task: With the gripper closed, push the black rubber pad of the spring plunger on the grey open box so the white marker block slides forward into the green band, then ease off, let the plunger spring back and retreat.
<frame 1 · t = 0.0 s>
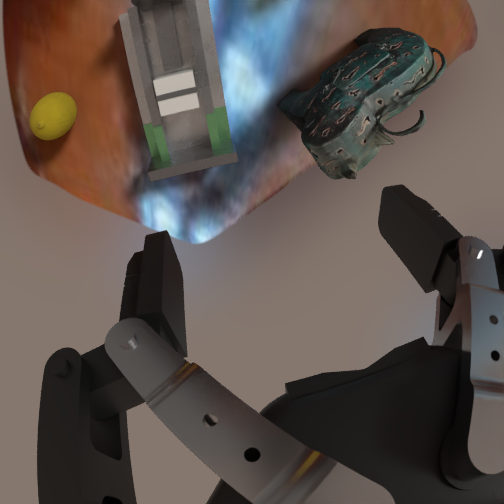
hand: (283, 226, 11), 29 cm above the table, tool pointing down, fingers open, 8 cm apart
ceramic cat: (326, 71, 33), on the table
grey open box: (177, 78, 31), on the table
lemon: (66, 107, 29), on the table
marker: (178, 87, 30), point 1 cm above the table, touching grey open box
plunger: (164, 30, 23), point 5 cm above the table, slide at 0.0 cm
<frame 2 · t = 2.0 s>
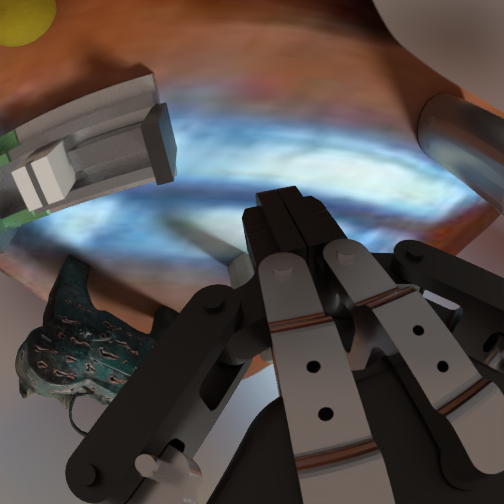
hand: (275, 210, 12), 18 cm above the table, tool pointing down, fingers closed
ceramic cat: (119, 288, 37), on the table
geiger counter: (300, 292, 44), on the table
grey open box: (70, 152, 25), on the table
lemon: (43, 17, 15), on the table
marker: (57, 161, 23), point 1 cm above the table, touching grey open box
plunger: (113, 152, 21), point 5 cm above the table, slide at 0.0 cm
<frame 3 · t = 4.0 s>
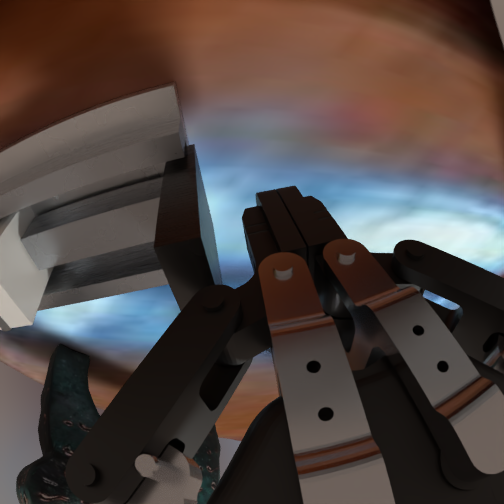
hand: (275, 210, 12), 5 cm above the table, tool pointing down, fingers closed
ceramic cat: (130, 376, 27), on the table
grey open box: (38, 219, 15), on the table
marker: (18, 238, 13), point 1 cm above the table, touching grey open box
plunger: (98, 255, 11), point 5 cm above the table, slide at 0.4 cm, touching gripper
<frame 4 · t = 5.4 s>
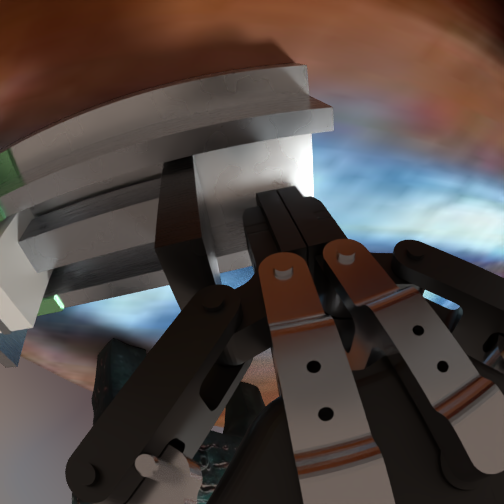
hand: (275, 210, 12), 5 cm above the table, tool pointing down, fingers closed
ceramic cat: (184, 370, 27), on the table
grey open box: (120, 193, 15), on the table
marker: (17, 240, 13), point 1 cm above the table, touching grey open box, plunger
plunger: (97, 256, 11), point 5 cm above the table, slide at 6.3 cm, touching gripper, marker
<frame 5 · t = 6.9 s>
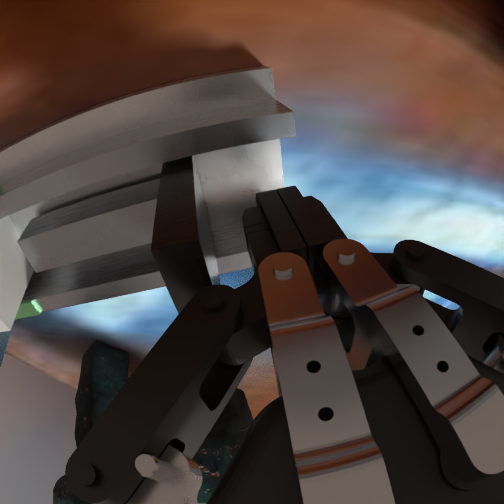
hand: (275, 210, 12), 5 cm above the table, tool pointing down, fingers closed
ceramic cat: (168, 372, 27), on the table
grey open box: (94, 201, 15), on the table
plunger: (95, 257, 11), point 5 cm above the table, slide at 4.7 cm, touching gripper
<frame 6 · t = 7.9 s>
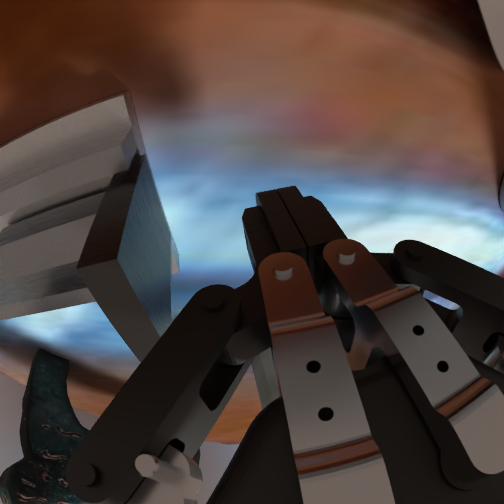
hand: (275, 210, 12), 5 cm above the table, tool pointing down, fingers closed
ceramic cat: (110, 381, 26), on the table
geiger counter: (335, 370, 33), on the table
grey open box: (10, 229, 14), on the table
plunger: (53, 268, 10), point 5 cm above the table, slide at 0.4 cm
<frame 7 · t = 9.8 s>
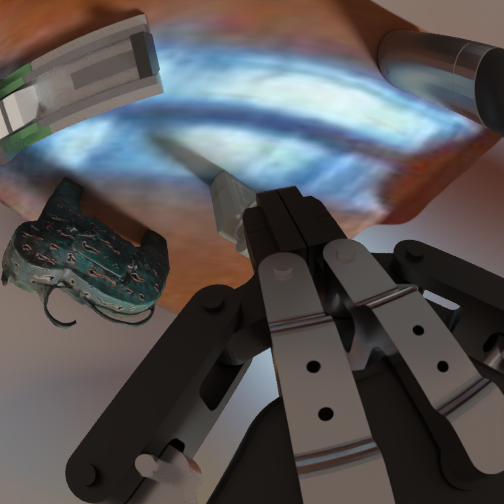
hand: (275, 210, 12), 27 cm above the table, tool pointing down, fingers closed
ceramic cat: (109, 212, 39), on the table
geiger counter: (282, 219, 45), on the table
grey open box: (75, 81, 26), on the table
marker: (25, 106, 25), point 1 cm above the table, touching grey open box
plunger: (107, 67, 23), point 5 cm above the table, slide at 0.4 cm
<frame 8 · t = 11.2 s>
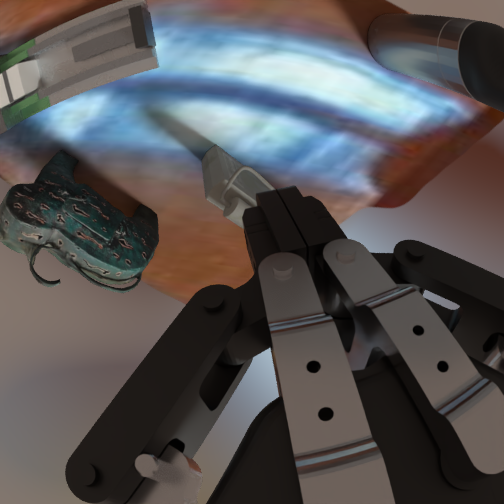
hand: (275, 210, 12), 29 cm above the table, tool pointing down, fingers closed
ceramic cat: (102, 185, 38), on the table
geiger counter: (273, 197, 45), on the table
grey open box: (75, 56, 26), on the table
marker: (27, 79, 25), point 1 cm above the table, touching grey open box
plunger: (106, 40, 22), point 5 cm above the table, slide at 0.4 cm
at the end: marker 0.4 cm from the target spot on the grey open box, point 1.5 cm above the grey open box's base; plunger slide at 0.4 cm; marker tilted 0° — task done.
